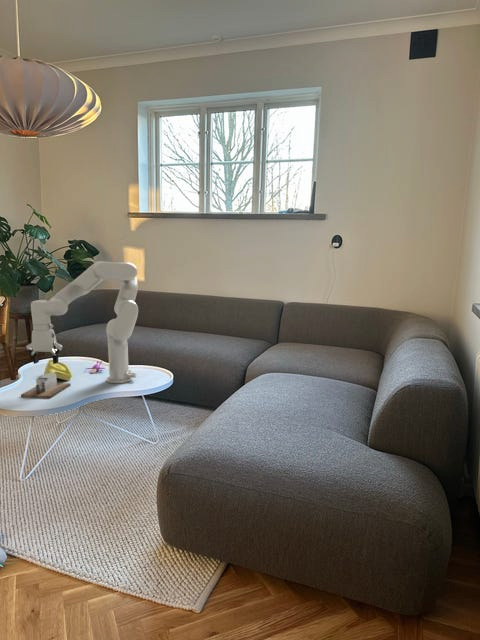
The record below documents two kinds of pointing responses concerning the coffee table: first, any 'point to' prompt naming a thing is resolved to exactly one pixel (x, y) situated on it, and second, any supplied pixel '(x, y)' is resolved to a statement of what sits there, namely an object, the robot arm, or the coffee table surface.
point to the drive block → (47, 382)
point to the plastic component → (58, 370)
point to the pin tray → (48, 394)
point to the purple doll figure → (96, 368)
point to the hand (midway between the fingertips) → (46, 363)
